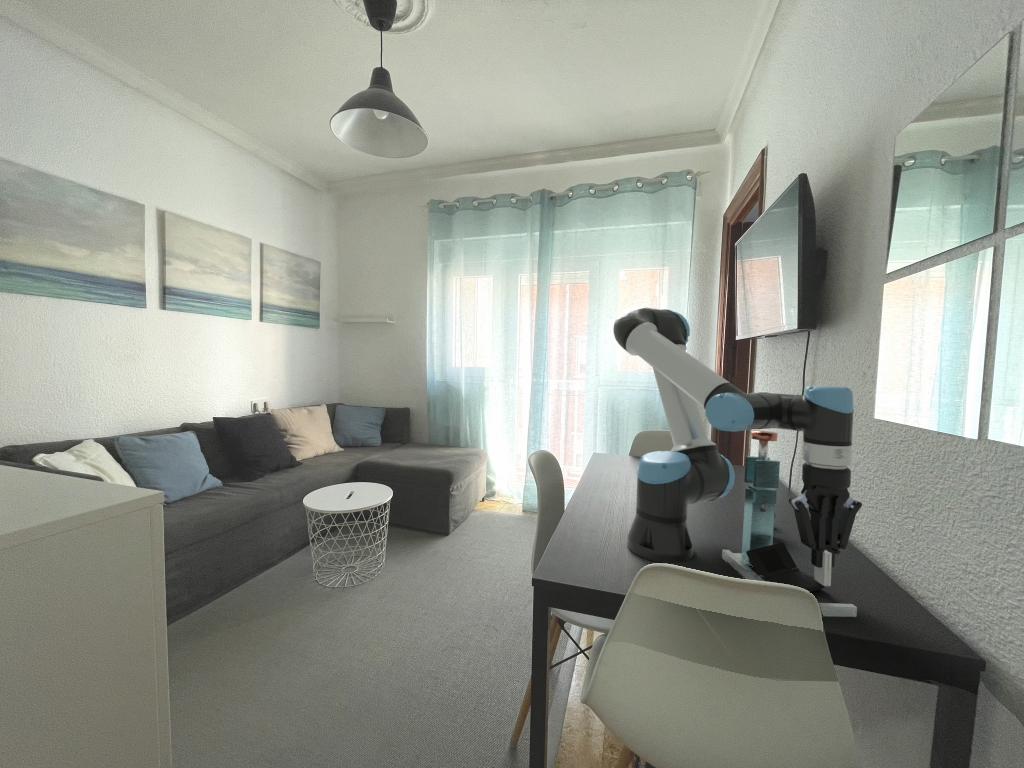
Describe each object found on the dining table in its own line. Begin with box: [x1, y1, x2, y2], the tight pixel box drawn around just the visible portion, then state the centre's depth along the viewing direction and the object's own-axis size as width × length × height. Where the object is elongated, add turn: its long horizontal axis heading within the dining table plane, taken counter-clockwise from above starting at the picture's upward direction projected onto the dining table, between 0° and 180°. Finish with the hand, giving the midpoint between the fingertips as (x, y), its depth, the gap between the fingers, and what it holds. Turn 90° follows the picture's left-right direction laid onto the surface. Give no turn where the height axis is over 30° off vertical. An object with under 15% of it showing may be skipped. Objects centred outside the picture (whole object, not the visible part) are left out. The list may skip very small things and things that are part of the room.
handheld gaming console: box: [746, 542, 826, 593], centre depth 83 cm, size 11×10×4 cm
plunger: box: [750, 429, 778, 460], centre depth 91 cm, size 5×5×8 cm
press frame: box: [721, 455, 858, 618], centre depth 83 cm, size 13×22×24 cm, turn 179°
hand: (822, 582), depth 79 cm, fingers closed
